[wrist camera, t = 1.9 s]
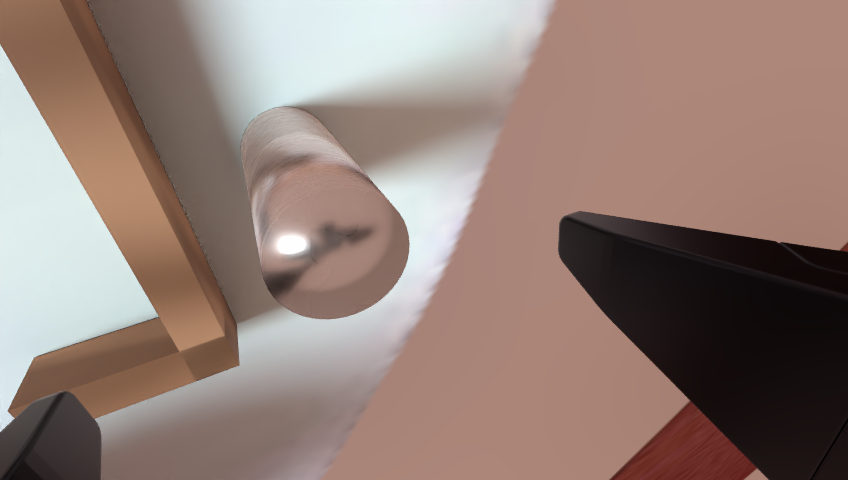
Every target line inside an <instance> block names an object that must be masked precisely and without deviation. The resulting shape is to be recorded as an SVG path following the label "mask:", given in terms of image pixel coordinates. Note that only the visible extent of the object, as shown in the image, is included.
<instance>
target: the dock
mask: <svg viewBox="0 0 848 480" xmlns="http://www.w3.org/2000/svg"><path fill="white" fill-rule="evenodd" d="M0 44H1V46H2V48H3V50H4V51H5V53H6V55H7V56H8V58H9V60H10V62H11V63H12V65H13V67H14V68H15V70H16V72H17V74H18V75H19V77H20V79H21V81H22V82H23V84H24V86H25V87H26V89H27V91H28V93H29V94H30V96H31V98H32V99H33V101H34V103H35V105H36V106H37V108H38V110H39V111H40V113H41V115H42V117H43V118H44V120H45V122H46V123H47V125H48V127H49V129H50V130H51V132H52V134H53V135H54V137H55V139H56V141H57V142H58V144H59V146H60V147H61V149H62V151H63V153H64V154H65V156H66V158H67V159H68V161H69V163H70V165H71V166H72V168H73V170H74V171H75V173H76V175H77V177H78V178H79V180H80V182H81V183H82V185H83V187H84V189H85V190H86V192H87V194H88V196H89V197H90V199H91V201H92V202H93V204H94V206H95V208H96V209H97V211H98V213H99V214H100V216H101V218H102V220H103V221H104V223H105V225H106V226H107V228H108V230H109V232H110V233H111V235H112V237H113V238H114V240H115V242H116V244H117V245H118V247H119V249H120V250H121V252H122V254H123V256H124V257H125V259H126V261H127V262H128V264H129V266H130V268H131V269H132V271H133V273H134V274H135V276H136V278H137V280H138V281H139V283H140V285H141V286H142V288H143V290H144V292H145V293H146V295H147V297H148V298H149V300H150V302H151V304H152V305H153V307H154V309H155V311H156V312H157V314H158V316H159V317H158V318H155V319H152V320H149V321H146V322H143V323H140V324H137V325H134V326H131V327H127V328H124V329H121V330H118V331H115V332H112V333H109V334H106V335H103V336H100V337H97V338H93V339H90V340H87V341H84V342H81V343H78V344H75V345H72V346H69V347H66V348H63V349H59V350H56V351H53V352H50V353H47V354H44V355H41V356H38V357H35V358H34V359H33V361H32V363H31V365H30V367H29V369H28V371H27V373H26V375H25V377H24V379H23V381H22V383H21V385H20V387H19V389H18V391H17V393H16V395H15V397H14V399H13V401H12V403H11V405H10V407H9V409H8V412H9V413H10V414H11V415H12V416H13V417H14V418H16V417H17V416H18V415H19V414H20V413H21V412H22V411H23V410H24V409H25V408H26V407H28V406H29V405H30V404H31V403H32V402H34V401H35V400H37V399H40V398H43V397H46V396H49V395H52V394H54V393H57V392H60V391H69V392H71V393H73V394H74V395H75V396H76V397H77V399H78V400H79V401H80V402H81V404H82V405H83V406H84V407H85V408H86V410H87V411H88V412H89V413H90V415H91V416H92V417H93V418H94V419H95V418H98V417H100V416H103V415H106V414H108V413H111V412H114V411H117V410H119V409H122V408H125V407H127V406H130V405H133V404H136V403H138V402H141V401H144V400H146V399H149V398H152V397H155V396H157V395H160V394H163V393H165V392H168V391H171V390H174V389H176V388H179V387H182V386H184V385H187V384H190V383H193V382H195V381H198V380H201V379H203V378H206V377H209V376H212V375H214V374H217V373H220V372H222V371H225V370H228V369H231V368H233V367H236V366H239V351H238V338H237V324H236V322H235V320H234V318H233V316H232V314H231V311H230V309H229V307H228V305H227V303H226V301H225V299H224V296H223V294H222V292H221V290H220V288H219V286H218V283H217V281H216V279H215V277H214V275H213V273H212V271H211V268H210V266H209V264H208V262H207V260H206V258H205V255H204V253H203V251H202V249H201V247H200V245H199V243H198V240H197V238H196V236H195V234H194V232H193V230H192V228H191V225H190V223H189V221H188V219H187V217H186V215H185V212H184V210H183V208H182V206H181V204H180V202H179V200H178V197H177V195H176V193H175V191H174V189H173V187H172V184H171V182H170V180H169V178H168V176H167V174H166V172H165V169H164V167H163V165H162V163H161V161H160V159H159V157H158V154H157V152H156V150H155V148H154V146H153V144H152V141H151V139H150V137H149V135H148V133H147V131H146V129H145V126H144V124H143V122H142V120H141V118H140V116H139V114H138V111H137V109H136V107H135V105H134V103H133V101H132V98H131V96H130V94H129V92H128V90H127V88H126V86H125V83H124V81H123V79H122V77H121V75H120V73H119V70H118V68H117V66H116V64H115V62H114V60H113V58H112V55H111V53H110V51H109V49H108V47H107V45H106V43H105V40H104V38H103V36H102V34H101V32H100V30H99V27H98V25H97V23H96V21H95V19H94V17H93V15H92V12H91V10H90V8H89V6H88V4H87V2H86V0H0Z"/></svg>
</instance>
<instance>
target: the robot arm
mask: <svg viewBox="0 0 848 480" xmlns="http://www.w3.org/2000/svg"><path fill="white" fill-rule="evenodd" d="M558 252H559V255H560V258H561V260H562V262H563V263H564V264H565V265H566V267H567V268H568V269H569V271H570V272H571V273H572V274H573V276H574V277H575V278H576V279H577V280H578V282H579V283H580V284H581V285H582V287H583V288H584V289H585V290H586V292H587V293H588V294H589V295H590V297H591V298H592V299H593V300H594V302H595V303H596V304H597V305H598V306H599V308H600V309H601V310H602V311H603V312H604V313H605V314H606V316H607V317H608V318H609V319H610V320H611V321H612V322H613V323H614V324H615V325H616V326H617V327H618V328H619V329H620V330H621V331H622V332H623V333H624V334H625V335H626V336H627V337H628V338H629V339H630V340H631V341H632V342H633V343H634V344H635V345H636V346H637V347H638V348H639V349H640V350H641V351H642V352H643V353H644V354H645V355H646V356H647V357H648V358H649V359H650V360H651V361H652V362H653V363H654V364H655V365H656V366H657V367H658V368H659V369H660V370H661V371H662V372H663V373H664V374H665V375H666V376H667V377H668V378H669V379H670V380H671V382H673V384H675V386H676V387H677V388H678V389H680V391H681V392H682V393H683V394H684V395H685V396H686V397H687V398H688V399H689V400H690V401H691V402H692V403H693V404H694V405H695V406H696V407H697V408H698V409H699V410H700V411H701V412H702V413H703V414H704V415H705V416H706V417H707V418H708V419H709V420H710V421H711V422H712V423H713V424H714V425H715V426H716V427H717V428H718V429H719V430H720V431H721V432H722V433H723V434H724V435H725V436H726V437H727V438H728V439H729V440H730V441H731V442H732V443H733V444H734V445H735V446H736V447H737V448H738V449H739V450H740V451H741V452H742V453H743V454H744V455H745V456H746V457H747V458H748V459H749V460H750V461H751V462H752V463H753V464H754V465H755V466H756V467H757V468H758V469H759V470H760V471H761V472H762V473H763V474H764V475H765V476H766V477H767V479H768V480H848V252H845V251H838V250H831V249H824V248H817V247H810V246H803V245H797V244H790V243H784V242H781V243H778V242H776V241H770V240H764V239H758V238H751V237H744V236H738V235H731V234H725V233H719V232H712V231H705V230H699V229H693V228H686V227H680V226H673V225H666V224H659V223H654V222H647V221H641V220H634V219H628V218H621V217H615V216H608V215H602V214H595V213H589V212H581V211H579V212H575V213H572V214H569V215H566V216H564V217H563V218H562V219H561V220H560V223H559V242H558ZM0 480H101V431H100V428H99V426H98V424H97V422H96V421H95V419H94V418H93V417H92V416H91V415H90V413H89V412H88V411H87V410H86V408H85V407H84V406H83V405H82V404H81V402H80V401H79V400H78V399H77V397H76V396H75V395H74V394H73V393H71V392H69V391H60V392H57V393H54V394H52V395H49V396H46V397H43V398H40V399H37V400H35V401H34V402H32V403H31V404H30V405H29V406H28V407H26V408H25V409H24V410H23V411H22V412H21V413H20V414H19V415H18V416H17V417H16V418H15V419H14V420H13V421H12V422H11V423H10V424H9V425H7V426H6V427H5V428H4V429H3V430H2V431H1V432H0Z"/></svg>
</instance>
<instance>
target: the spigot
mask: <svg viewBox="0 0 848 480" xmlns="http://www.w3.org/2000/svg"><path fill="white" fill-rule="evenodd" d="M241 157H242V163H243V169H244V174H245V180H246V185H247V191H248V197H249V202H250V208H251V213H252V219H253V225H254V230H255V236H256V241H257V247H258V253H259V258H260V264H261V269H262V274H263V278H264V281H265V284H266V286H267V288H268V290H269V291H270V293H271V294H272V295H273V297H274V298H275V299H276V300H277V301H278V302H279V303H280V304H281V305H283V306H284V307H285V308H287V309H289V310H290V311H292V312H294V313H297V314H299V315H302V316H305V317H309V318H315V319H336V318H342V317H347V316H350V315H353V314H356V313H359V312H361V311H363V310H365V309H367V308H369V307H371V306H372V305H374V304H375V303H377V302H378V301H380V300H381V299H382V298H383V297H384V296H385V295H386V294H387V293H388V292H389V291H390V290H391V289H392V288H393V287H394V285H395V284H396V283H397V281H398V280H399V278H400V277H401V275H402V273H403V271H404V268H405V266H406V263H407V260H408V254H409V235H408V231H407V227H406V225H405V222H404V220H403V218H402V217H401V215H400V213H399V212H398V211H397V210H396V209H395V207H394V206H393V205H392V204H391V203H390V202H389V200H388V199H387V198H386V197H385V196H384V195H383V194H382V192H381V191H380V190H379V189H378V188H377V187H376V185H375V184H374V183H373V182H372V181H371V180H370V178H369V177H368V176H367V175H366V174H365V173H364V172H363V170H362V169H361V168H360V167H359V166H358V165H357V163H356V162H355V161H354V160H353V159H352V158H351V157H350V155H349V154H348V153H347V152H346V151H345V150H344V148H343V147H342V146H341V145H340V144H339V143H338V141H337V140H336V139H335V138H334V137H333V136H332V135H331V133H330V132H329V131H328V130H327V129H326V128H325V126H324V125H323V124H322V123H321V122H320V121H319V120H318V119H317V118H316V117H314V116H313V115H312V114H310V113H308V112H306V111H304V110H301V109H298V108H293V107H278V108H273V109H270V110H267V111H265V112H263V113H261V114H260V115H258V116H257V117H256V118H255V119H253V121H252V122H251V123H250V124H249V125H248V127H247V128H246V130H245V132H244V134H243V137H242V141H241Z"/></svg>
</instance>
